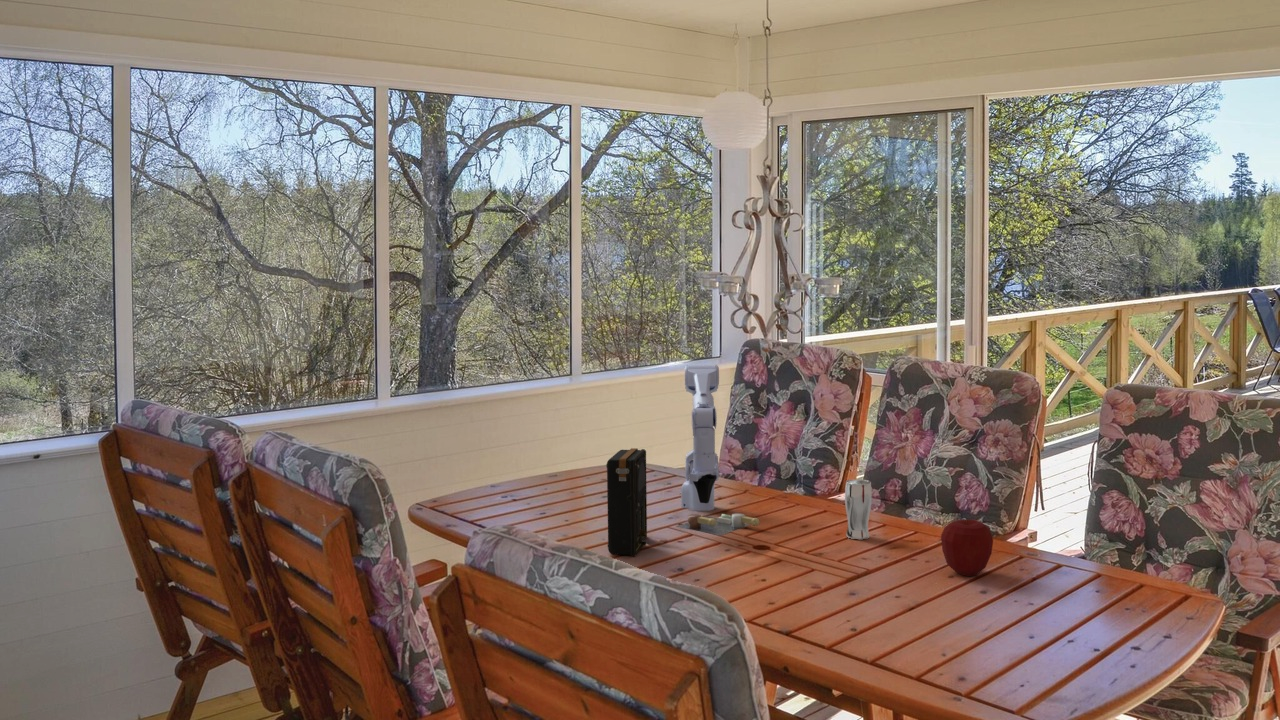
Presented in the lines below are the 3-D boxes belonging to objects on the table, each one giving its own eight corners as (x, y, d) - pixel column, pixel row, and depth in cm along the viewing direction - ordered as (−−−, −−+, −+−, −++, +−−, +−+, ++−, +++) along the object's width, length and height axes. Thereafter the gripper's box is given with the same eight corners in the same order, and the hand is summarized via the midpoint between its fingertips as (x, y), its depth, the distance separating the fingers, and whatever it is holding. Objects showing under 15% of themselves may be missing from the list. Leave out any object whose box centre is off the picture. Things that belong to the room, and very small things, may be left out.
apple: (952, 562, 249) (953, 509, 248) (999, 571, 242) (1001, 516, 241) (932, 574, 240) (933, 519, 239) (980, 584, 233) (982, 527, 231)
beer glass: (841, 538, 271) (841, 483, 270) (848, 532, 277) (849, 478, 276) (867, 541, 268) (867, 485, 267) (874, 535, 274) (874, 480, 273)
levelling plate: (676, 530, 281) (676, 526, 281) (706, 520, 292) (706, 516, 292) (720, 540, 271) (720, 535, 271) (750, 529, 282) (750, 524, 282)
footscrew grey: (728, 525, 281) (728, 514, 281) (737, 523, 283) (737, 511, 283) (754, 531, 275) (754, 519, 274) (762, 529, 277) (762, 517, 277)
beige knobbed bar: (685, 526, 280) (685, 515, 280) (693, 524, 283) (693, 512, 283) (711, 532, 275) (711, 520, 274) (719, 529, 277) (719, 517, 277)
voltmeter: (639, 557, 256) (637, 459, 254) (605, 556, 258) (604, 458, 255) (650, 540, 271) (649, 448, 269) (619, 539, 273) (617, 447, 271)
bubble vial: (717, 521, 285) (717, 514, 285) (722, 520, 287) (722, 512, 287) (729, 524, 283) (729, 516, 283) (734, 522, 285) (734, 514, 284)
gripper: (707, 458, 264) (707, 510, 265) (728, 448, 277) (728, 498, 278) (682, 456, 267) (682, 507, 268) (704, 447, 280) (704, 495, 281)
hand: (704, 502), depth 274 cm, fingers closed
